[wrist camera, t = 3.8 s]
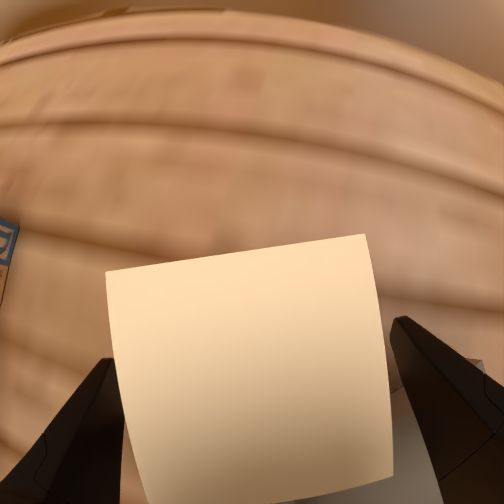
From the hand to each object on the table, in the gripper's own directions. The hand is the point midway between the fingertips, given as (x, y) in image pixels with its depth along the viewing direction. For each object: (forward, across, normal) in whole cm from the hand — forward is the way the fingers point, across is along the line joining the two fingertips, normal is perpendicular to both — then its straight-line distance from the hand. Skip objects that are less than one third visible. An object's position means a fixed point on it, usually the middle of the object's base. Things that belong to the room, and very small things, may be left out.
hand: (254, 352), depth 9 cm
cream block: (+5, 0, +6) cm, 8 cm away
